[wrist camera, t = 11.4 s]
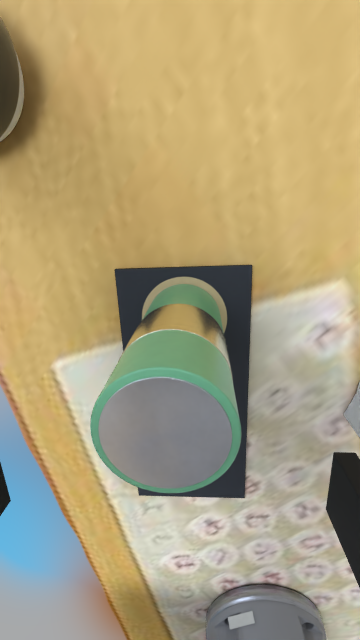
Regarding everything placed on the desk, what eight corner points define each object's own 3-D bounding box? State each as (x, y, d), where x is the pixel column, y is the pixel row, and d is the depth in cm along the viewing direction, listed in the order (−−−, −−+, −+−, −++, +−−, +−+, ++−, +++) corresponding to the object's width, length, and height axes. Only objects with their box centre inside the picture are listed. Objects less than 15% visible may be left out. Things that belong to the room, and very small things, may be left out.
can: (241, 497, 14) (244, 366, 12) (98, 494, 15) (77, 367, 13) (220, 352, 29) (220, 282, 27) (150, 352, 30) (145, 284, 28)
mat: (244, 495, 35) (244, 498, 35) (139, 492, 36) (138, 495, 36) (251, 264, 27) (252, 265, 26) (115, 268, 28) (114, 269, 27)
